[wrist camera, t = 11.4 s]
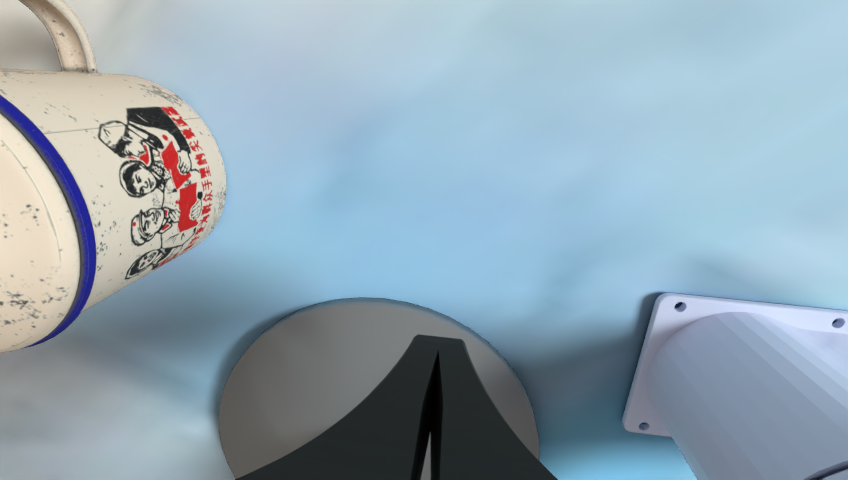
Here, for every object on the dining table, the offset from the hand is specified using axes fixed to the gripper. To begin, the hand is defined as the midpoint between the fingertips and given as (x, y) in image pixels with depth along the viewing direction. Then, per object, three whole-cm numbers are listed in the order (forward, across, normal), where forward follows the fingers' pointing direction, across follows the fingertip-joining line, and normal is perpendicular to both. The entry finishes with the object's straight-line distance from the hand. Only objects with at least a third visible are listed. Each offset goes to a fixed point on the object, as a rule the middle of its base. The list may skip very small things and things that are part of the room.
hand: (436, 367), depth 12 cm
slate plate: (+9, +3, +12) cm, 16 cm away
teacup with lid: (+10, +15, -4) cm, 18 cm away
